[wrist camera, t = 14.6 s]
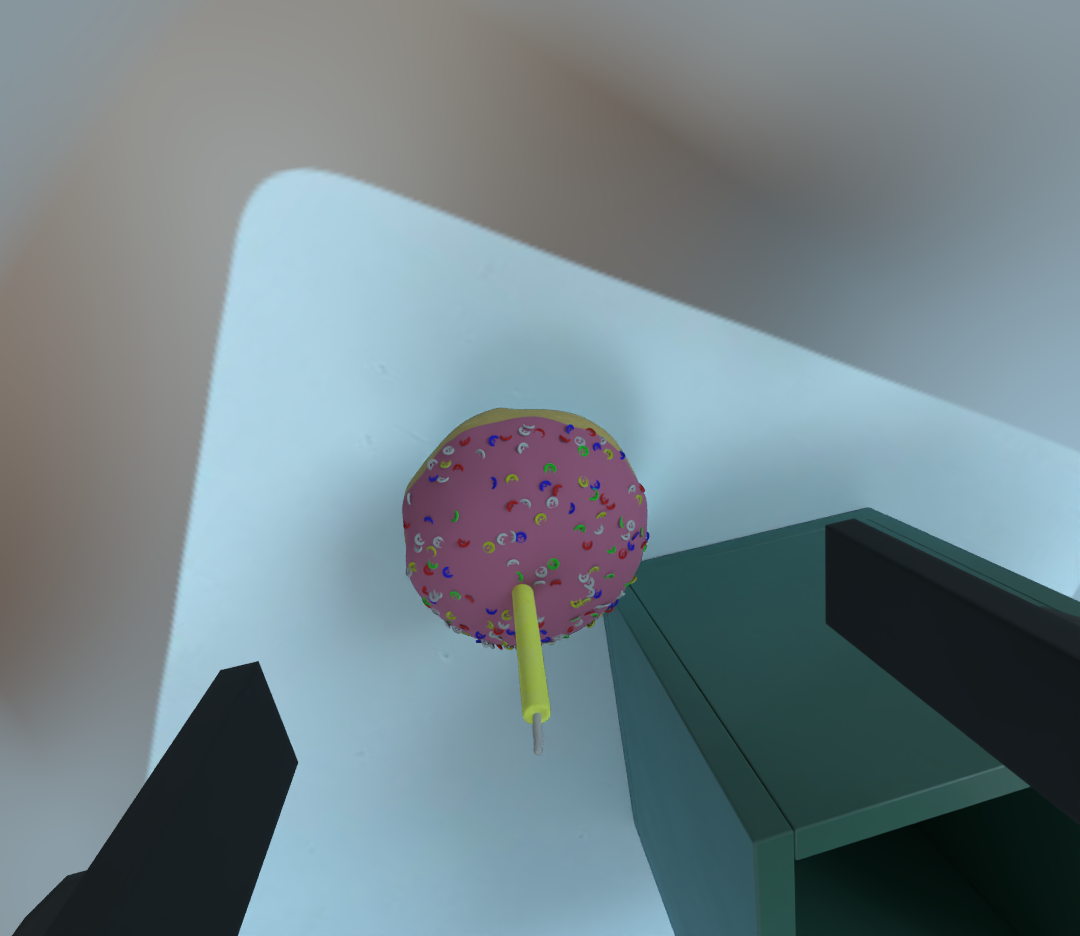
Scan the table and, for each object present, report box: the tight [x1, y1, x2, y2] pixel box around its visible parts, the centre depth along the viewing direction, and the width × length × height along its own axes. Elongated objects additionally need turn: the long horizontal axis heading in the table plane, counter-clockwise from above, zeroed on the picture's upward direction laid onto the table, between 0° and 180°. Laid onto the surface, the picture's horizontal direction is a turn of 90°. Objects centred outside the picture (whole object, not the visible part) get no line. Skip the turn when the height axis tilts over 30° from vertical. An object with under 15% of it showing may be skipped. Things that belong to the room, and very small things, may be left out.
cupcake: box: [402, 408, 649, 755], centre depth 16 cm, size 9×8×12 cm
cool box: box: [603, 508, 1080, 936], centre depth 21 cm, size 16×14×13 cm
